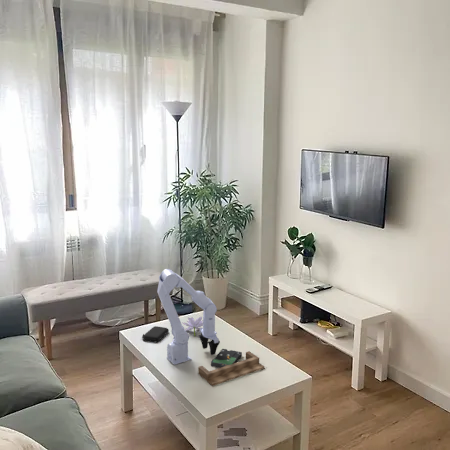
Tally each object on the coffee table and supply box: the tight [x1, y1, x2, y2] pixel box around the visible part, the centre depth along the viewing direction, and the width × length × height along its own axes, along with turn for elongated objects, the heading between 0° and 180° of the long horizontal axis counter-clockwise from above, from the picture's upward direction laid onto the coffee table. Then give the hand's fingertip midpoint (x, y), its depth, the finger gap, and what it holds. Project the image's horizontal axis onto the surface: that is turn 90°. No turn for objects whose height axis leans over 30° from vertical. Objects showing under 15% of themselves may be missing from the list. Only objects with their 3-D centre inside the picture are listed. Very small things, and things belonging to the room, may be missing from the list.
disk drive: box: [210, 348, 243, 369], centre depth 221 cm, size 10×3×15 cm
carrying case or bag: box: [141, 325, 170, 343], centre depth 247 cm, size 11×3×15 cm
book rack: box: [197, 350, 265, 387], centre depth 211 cm, size 28×12×4 cm, turn 123°
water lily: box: [181, 316, 203, 337], centre depth 249 cm, size 15×15×9 cm
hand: (209, 351), depth 227 cm, fingers open, 7 cm apart
